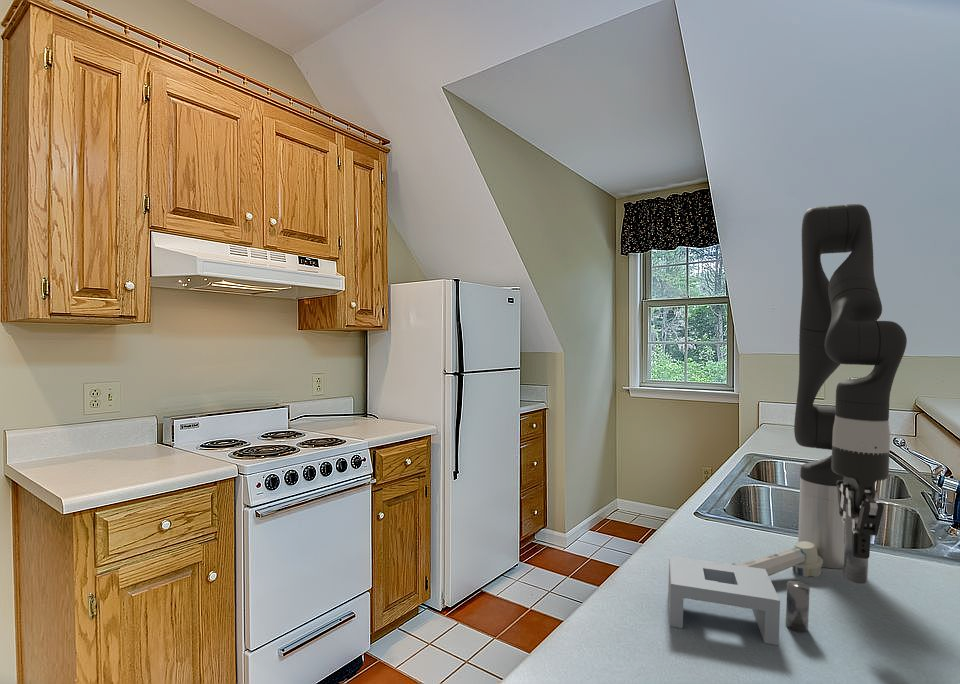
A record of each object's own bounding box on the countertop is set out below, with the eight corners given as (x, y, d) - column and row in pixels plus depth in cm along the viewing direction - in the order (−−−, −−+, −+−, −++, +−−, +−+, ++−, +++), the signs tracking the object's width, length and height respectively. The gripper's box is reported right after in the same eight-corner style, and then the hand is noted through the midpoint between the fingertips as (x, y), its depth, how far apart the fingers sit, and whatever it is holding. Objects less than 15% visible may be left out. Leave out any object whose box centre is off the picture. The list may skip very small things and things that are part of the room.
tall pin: (840, 573, 90) (843, 500, 90) (863, 576, 89) (866, 503, 89) (847, 581, 87) (849, 507, 87) (870, 585, 86) (873, 509, 86)
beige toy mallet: (713, 564, 106) (803, 531, 115) (715, 597, 106) (805, 562, 116) (735, 575, 101) (827, 540, 110) (737, 610, 101) (829, 572, 111)
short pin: (783, 620, 92) (785, 579, 92) (805, 624, 91) (806, 582, 91) (788, 630, 89) (789, 587, 89) (810, 634, 88) (811, 591, 88)
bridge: (668, 593, 101) (669, 555, 101) (764, 608, 96) (765, 569, 96) (669, 625, 90) (670, 583, 90) (778, 645, 85) (780, 600, 85)
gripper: (907, 458, 79) (902, 575, 80) (871, 439, 93) (867, 539, 93) (847, 453, 82) (843, 567, 82) (820, 435, 95) (817, 533, 96)
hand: (856, 551), depth 88 cm, fingers closed on tall pin, 3 cm apart
